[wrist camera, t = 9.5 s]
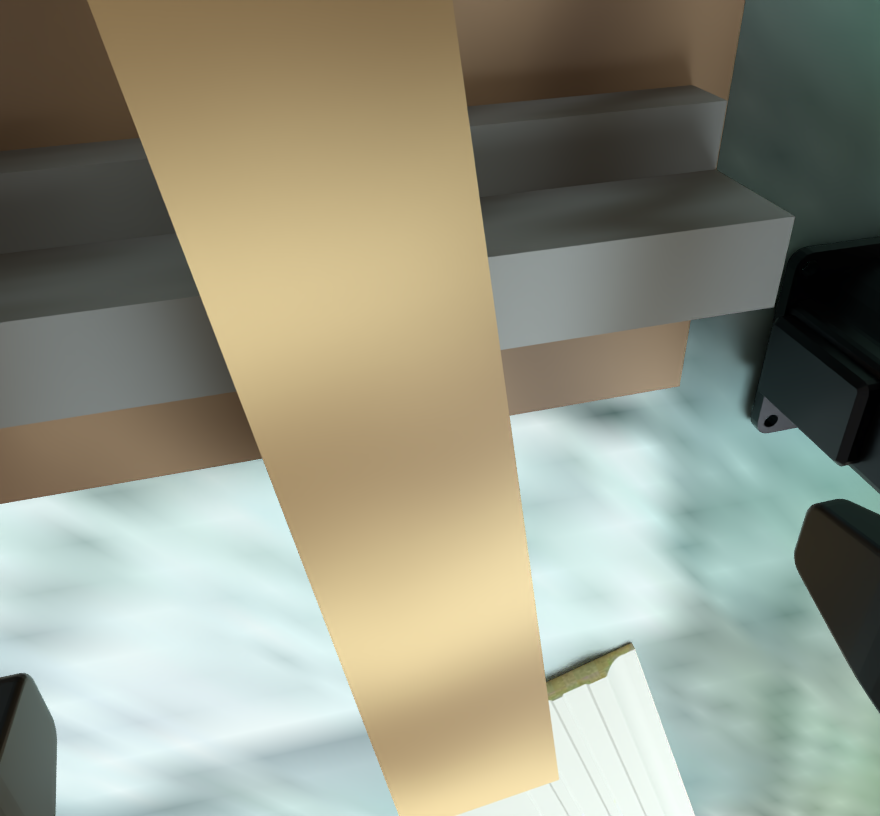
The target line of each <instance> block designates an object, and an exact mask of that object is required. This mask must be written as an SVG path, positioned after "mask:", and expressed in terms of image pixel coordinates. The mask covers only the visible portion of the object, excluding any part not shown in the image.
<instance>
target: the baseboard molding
mask: <svg viewBox="0 0 880 816" xmlns="http://www.w3.org/2000/svg"><path fill="white" fill-rule="evenodd" d="M546 686H547V694H548V701H549V708H550V716H551V723H552V730H553V737H554V745H555V752H556V759H557V767H558V774H559V780H557V781H554V782H551V783H549V784H546V785H543V786H540V787H537V788H534V789H531V790H528V791H525V792H523V793H520V794H517V795H514V796H511V797H508V798H505V799H502V800H499V801H497V802H494V803H491V804H488V805H485V806H482V807H479V808H476V809H473V810H471V811H468V812H465V813H462V814H459V815H456V816H695V815H694V812H693V809H692V806H691V803H690V801H689V798H688V795H687V792H686V790H685V787H684V784H683V781H682V778H681V776H680V773H679V770H678V767H677V764H676V762H675V759H674V756H673V753H672V751H671V748H670V745H669V742H668V739H667V737H666V734H665V731H664V728H663V725H662V723H661V720H660V717H659V714H658V712H657V709H656V706H655V703H654V700H653V698H652V695H651V692H650V689H649V686H648V684H647V681H646V678H645V675H644V673H643V670H642V667H641V664H640V661H639V659H638V656H637V653H636V650H635V648H634V646H633V644H632V643H630V644H628V645H625V646H623V647H621V648H619V649H617V650H615V651H612V652H610V653H608V654H606V655H604V656H602V657H599V658H597V659H595V660H593V661H591V662H589V663H587V664H584V665H582V666H580V667H578V668H576V669H574V670H571V671H569V672H567V673H565V674H563V675H561V676H558V677H556V678H554V679H552V680H550V681H548V682H546Z"/></svg>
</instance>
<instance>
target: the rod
mask: <svg viewBox="0 0 880 816" xmlns="http://www.w3.org/2000/svg"><path fill="white" fill-rule="evenodd" d="M87 1H88V4H89V7H90V9H91V12H92V14H93V17H94V20H95V22H96V25H97V28H98V30H99V33H100V35H101V38H102V41H103V43H104V46H105V48H106V51H107V54H108V56H109V59H110V61H111V64H112V67H113V69H114V72H115V75H116V77H117V80H118V82H119V85H120V88H121V90H122V93H123V95H124V98H125V101H126V103H127V106H128V109H129V111H130V114H131V116H132V119H133V122H134V124H135V127H136V129H137V132H138V135H139V137H140V140H141V142H142V145H143V148H144V150H145V153H146V156H147V158H148V161H149V163H150V166H151V169H152V171H153V174H154V176H155V179H156V182H157V184H158V187H159V190H160V192H161V195H162V197H163V200H164V203H165V205H166V208H167V210H168V213H169V216H170V218H171V221H172V223H173V226H174V229H175V231H176V234H177V237H178V239H179V242H180V244H181V247H182V250H183V252H184V255H185V257H186V260H187V263H188V265H189V268H190V271H191V273H192V276H193V278H194V281H195V284H196V286H197V289H198V291H199V294H200V297H201V299H202V302H203V304H204V307H205V310H206V312H207V315H208V318H209V320H210V323H211V325H212V328H213V331H214V333H215V336H216V338H217V341H218V344H219V346H220V349H221V352H222V354H223V357H224V359H225V362H226V365H227V367H228V370H229V372H230V375H231V378H232V380H233V383H234V385H235V388H236V391H237V393H238V396H239V399H240V401H241V404H242V406H243V409H244V412H245V414H246V417H247V419H248V422H249V425H250V427H251V430H252V432H253V435H254V438H255V440H256V443H257V446H258V448H259V451H260V453H261V456H262V459H263V461H264V464H265V466H266V469H267V472H268V474H269V477H270V480H271V482H272V485H273V487H274V490H275V493H276V495H277V498H278V500H279V503H280V506H281V508H282V511H283V513H284V516H285V519H286V521H287V524H288V527H289V529H290V532H291V534H292V537H293V540H294V542H295V545H296V547H297V550H298V553H299V555H300V558H301V561H302V563H303V566H304V568H305V571H306V574H307V576H308V579H309V581H310V584H311V587H312V589H313V592H314V594H315V597H316V600H317V602H318V605H319V608H320V610H321V613H322V615H323V618H324V621H325V623H326V626H327V628H328V631H329V634H330V636H331V639H332V642H333V644H334V647H335V649H336V652H337V655H338V657H339V660H340V662H341V665H342V668H343V670H344V673H345V675H346V678H347V681H348V683H349V686H350V689H351V691H352V694H353V696H354V699H355V702H356V704H357V707H358V709H359V712H360V715H361V717H362V720H363V723H364V725H365V728H366V730H367V733H368V736H369V738H370V741H371V743H372V746H373V749H374V751H375V754H376V756H377V759H378V762H379V764H380V767H381V770H382V772H383V775H384V777H385V780H386V783H387V785H388V788H389V790H390V793H391V796H392V798H393V801H394V804H395V806H396V809H397V811H398V814H399V816H456V815H459V814H462V813H465V812H468V811H471V810H473V809H476V808H479V807H482V806H485V805H488V804H491V803H494V802H497V801H499V800H502V799H505V798H508V797H511V796H514V795H517V794H520V793H523V792H525V791H528V790H531V789H534V788H537V787H540V786H543V785H546V784H549V783H551V782H554V781H557V780H559V774H558V767H557V759H556V752H555V745H554V737H553V730H552V723H551V716H550V708H549V701H548V694H547V686H546V679H545V672H544V664H543V657H542V650H541V643H540V635H539V628H538V621H537V613H536V606H535V599H534V591H533V584H532V577H531V570H530V562H529V555H528V548H527V540H526V533H525V526H524V518H523V511H522V504H521V497H520V489H519V482H518V475H517V467H516V460H515V453H514V445H513V438H512V431H511V424H510V416H509V409H508V402H507V394H506V387H505V380H504V372H503V365H502V358H501V351H500V343H499V336H498V329H497V321H496V314H495V307H494V299H493V292H492V285H491V278H490V270H489V263H488V256H487V248H486V241H485V234H484V226H483V219H482V212H481V205H480V197H479V190H478V183H477V175H476V168H475V161H474V153H473V146H472V139H471V132H470V124H469V117H468V110H467V102H466V95H465V88H464V80H463V73H462V66H461V59H460V51H459V44H458V37H457V29H456V22H455V15H454V7H453V0H87Z"/></svg>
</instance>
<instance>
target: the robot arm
mask: <svg viewBox="0 0 880 816" xmlns="http://www.w3.org/2000/svg"><path fill="white" fill-rule="evenodd" d="M807 262H809V264H808V266H807V267H806V268H805V269H804V270H802V269H803V267H804V265H805V264H806V263H807ZM767 417H768V418H767ZM766 418H767V419H766ZM751 422H752V424H753V425H754V426H755V427H756V428H757V429H758V430H759V431H760V432H762V433H771V432H776V431H782V430H787V429H792V428H797V427H798V428H799V429H800V430H801V431H802V432H803V433H804V434H805V435H806V436H807V437H808V438H809V439H810V440H812V441H813V442H814V443H815V444H816V445H817V446H818V447H819V448H820V449H821V450H822V451H823V452H824V453H825V454H827V455H828V456H829V457H830V458H831V459H832V460H833V461H834V462H835V463H836V464H837V465H839V466H845V465H849V466H850V467H851V468H852V469H853V470H854V471H855V472H856V473H858V474H859V475H860V476H861V477H862V478H863V479H864V480H865V481H866V482H867V483H868V484H869V485H871V486H872V487H873V488H874V489H875V490H876V491H877V492H878V493H879V494H880V237H875V238H867V239H860V240H853V241H846V242H839V243H832V244H825V245H818V246H811V247H805V248H802V249H799V250H798V251H797V252H795V253H794V254H793V255H792V256H791V258H790V259H789V261H788V264H787V267H786V271H785V275H784V279H783V283H782V288H781V292H780V296H779V300H778V304H777V309H776V313H775V317H774V321H773V326H772V330H771V334H770V338H769V342H768V347H767V351H766V355H765V359H764V364H763V368H762V372H761V376H760V380H759V385H758V389H757V393H756V397H755V401H754V406H753V410H752V414H751ZM794 559H795V565H796V568H797V570H798V573H799V575H800V576H801V578H802V580H803V582H804V584H805V586H806V587H807V589H808V591H809V593H810V595H811V597H812V598H813V600H814V602H815V604H816V606H817V608H818V610H819V611H820V613H821V615H822V617H823V619H824V621H825V622H826V624H827V626H828V628H829V630H830V632H831V633H832V635H833V637H834V639H835V641H836V643H837V645H838V646H839V648H840V650H841V652H842V654H843V656H844V657H845V659H846V661H847V663H848V665H849V666H850V668H851V670H852V671H853V673H854V675H855V677H856V678H857V680H858V681H859V683H860V685H861V686H862V688H863V689H864V691H865V692H866V694H867V695H868V697H869V698H870V700H871V701H872V703H873V704H874V706H875V707H876V709H877V710H878V712H879V713H880V515H879V514H877V513H875V512H873V511H871V510H868V509H866V508H864V507H862V506H860V505H858V504H855V503H853V502H851V501H848V500H845V499H835V500H830V501H826V502H821V503H816V504H814V505H812V506H811V507H810V508H809V509H808V510H807V512H806V515H805V518H804V521H803V525H802V528H801V531H800V534H799V537H798V541H797V544H796V547H795V551H794ZM56 765H57V735H56V728H55V724H54V720H53V718H52V716H51V714H50V712H49V710H48V708H47V706H46V704H45V702H44V700H43V698H42V696H41V694H40V692H39V690H38V688H37V686H36V684H35V682H34V680H33V679H32V677H31V676H29V675H28V674H26V673H19V674H14V675H9V676H5V677H0V816H55V812H56Z"/></svg>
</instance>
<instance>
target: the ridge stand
mask: <svg viewBox="0 0 880 816" xmlns="http://www.w3.org/2000/svg"><path fill="white" fill-rule="evenodd" d="M744 5H745V0H453V7H454V15H455V22H456V29H457V37H458V44H459V51H460V59H461V66H462V73H463V80H464V88H465V95H466V102H467V110H468V117H469V124H470V132H471V139H472V146H473V153H474V161H475V168H476V175H477V183H478V190H479V197H480V205H481V212H482V219H483V226H484V234H485V241H486V248H487V256H488V263H489V270H490V278H491V285H492V292H493V299H494V307H495V314H496V321H497V329H498V336H499V343H500V351H501V358H502V365H503V372H504V380H505V387H506V394H507V402H508V409H509V416H510V415H516V414H522V413H527V412H533V411H539V410H545V409H550V408H556V407H562V406H568V405H573V404H579V403H585V402H591V401H596V400H602V399H608V398H614V397H620V396H625V395H631V394H637V393H643V392H648V391H654V390H660V389H666V388H671V387H677V386H680V380H681V374H682V368H683V362H684V356H685V351H686V345H687V339H688V333H689V327H690V321H691V320H695V319H701V318H708V317H714V316H721V315H727V314H733V313H740V312H746V311H752V310H759V309H765V308H772V307H774V305H775V301H776V296H777V292H778V288H779V284H780V279H781V275H782V271H783V267H784V262H785V258H786V254H787V250H788V245H789V241H790V237H791V233H792V228H793V224H794V220H795V216H794V215H792V214H790V213H789V212H787V211H785V210H784V209H782V208H780V207H778V206H777V205H775V204H773V203H772V202H770V201H768V200H767V199H765V198H763V197H762V196H760V195H758V194H756V193H755V192H753V191H751V190H750V189H748V188H746V187H745V186H743V185H741V184H740V183H738V182H736V181H734V180H733V179H731V178H729V177H728V176H726V175H724V174H723V173H721V172H719V171H718V170H716V169H717V163H718V157H719V151H720V145H721V140H722V134H723V128H724V122H725V116H726V110H727V104H728V99H729V93H730V87H731V81H732V75H733V69H734V63H735V58H736V52H737V46H738V40H739V34H740V28H741V22H742V17H743V11H744ZM256 459H262V456H261V453H260V451H259V448H258V446H257V443H256V440H255V438H254V435H253V432H252V430H251V427H250V425H249V422H248V419H247V417H246V414H245V412H244V409H243V406H242V404H241V401H240V399H239V396H238V393H237V391H236V388H235V385H234V383H233V380H232V378H231V375H230V372H229V370H228V367H227V365H226V362H225V359H224V357H223V354H222V352H221V349H220V346H219V344H218V341H217V338H216V336H215V333H214V331H213V328H212V325H211V323H210V320H209V318H208V315H207V312H206V310H205V307H204V304H203V302H202V299H201V297H200V294H199V291H198V289H197V286H196V284H195V281H194V278H193V276H192V273H191V271H190V268H189V265H188V263H187V260H186V257H185V255H184V252H183V250H182V247H181V244H180V242H179V239H178V237H177V234H176V231H175V229H174V226H173V223H172V221H171V218H170V216H169V213H168V210H167V208H166V205H165V203H164V200H163V197H162V195H161V192H160V190H159V187H158V184H157V182H156V179H155V176H154V174H153V171H152V169H151V166H150V163H149V161H148V158H147V156H146V153H145V150H144V148H143V145H142V142H141V140H140V137H139V135H138V132H137V129H136V127H135V124H134V122H133V119H132V116H131V114H130V111H129V109H128V106H127V103H126V101H125V98H124V95H123V93H122V90H121V88H120V85H119V82H118V80H117V77H116V75H115V72H114V69H113V67H112V64H111V61H110V59H109V56H108V54H107V51H106V48H105V46H104V43H103V41H102V38H101V35H100V33H99V30H98V28H97V25H96V22H95V20H94V17H93V14H92V12H91V9H90V7H89V4H88V1H87V0H0V504H3V503H9V502H14V501H20V500H26V499H32V498H38V497H43V496H49V495H55V494H61V493H66V492H72V491H78V490H84V489H89V488H95V487H101V486H107V485H112V484H118V483H124V482H130V481H135V480H141V479H147V478H153V477H159V476H164V475H170V474H176V473H182V472H187V471H193V470H199V469H205V468H210V467H216V466H222V465H228V464H233V463H239V462H245V461H251V460H256Z"/></svg>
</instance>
